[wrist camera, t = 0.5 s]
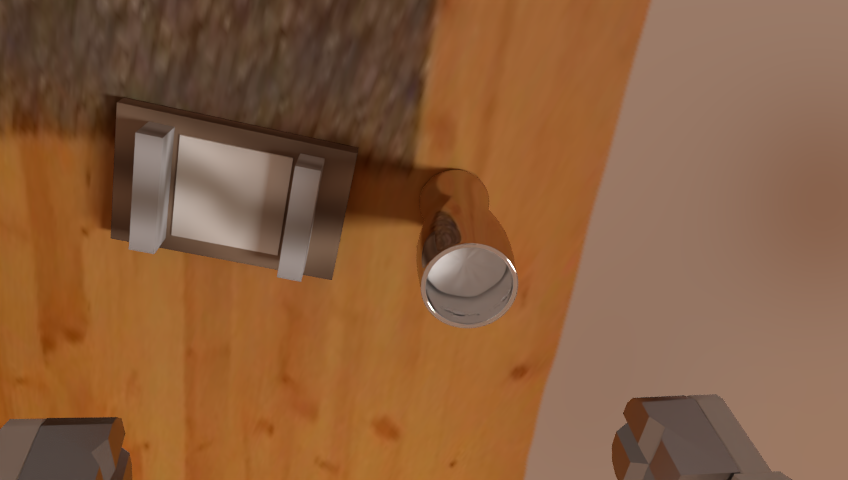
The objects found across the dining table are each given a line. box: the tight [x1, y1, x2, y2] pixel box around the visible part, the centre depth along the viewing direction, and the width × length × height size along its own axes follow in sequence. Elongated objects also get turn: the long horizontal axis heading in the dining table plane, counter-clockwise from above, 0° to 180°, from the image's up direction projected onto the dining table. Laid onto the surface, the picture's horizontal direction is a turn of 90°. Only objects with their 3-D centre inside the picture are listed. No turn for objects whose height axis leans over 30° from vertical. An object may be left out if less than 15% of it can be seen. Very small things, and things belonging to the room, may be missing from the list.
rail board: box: [111, 98, 358, 282], centre depth 56 cm, size 12×19×4 cm, turn 77°
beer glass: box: [416, 170, 518, 328], centre depth 52 cm, size 7×7×15 cm
